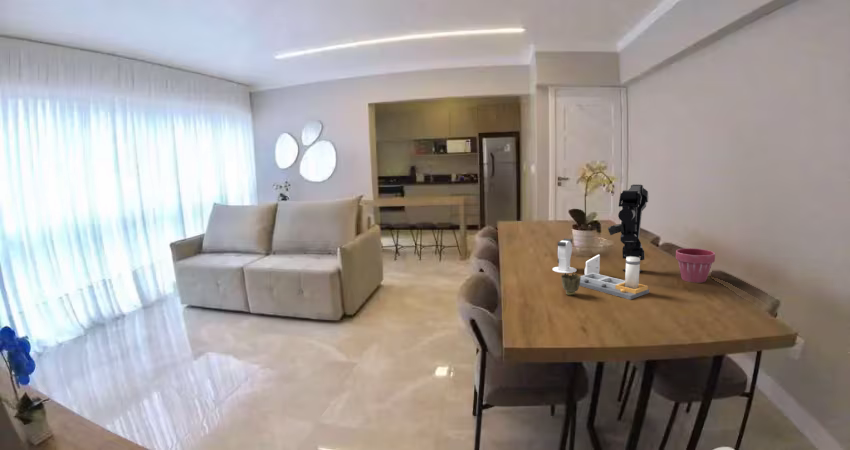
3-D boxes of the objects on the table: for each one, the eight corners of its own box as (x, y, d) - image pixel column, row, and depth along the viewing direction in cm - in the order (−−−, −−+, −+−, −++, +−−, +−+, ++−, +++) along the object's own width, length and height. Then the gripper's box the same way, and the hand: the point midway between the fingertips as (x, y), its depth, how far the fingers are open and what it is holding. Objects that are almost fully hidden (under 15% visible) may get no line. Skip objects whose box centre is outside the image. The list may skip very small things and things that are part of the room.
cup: (580, 292, 170) (580, 273, 169) (580, 298, 163) (581, 278, 162) (561, 291, 173) (561, 272, 171) (560, 296, 166) (561, 277, 165)
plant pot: (677, 283, 177) (679, 254, 175) (671, 274, 190) (673, 247, 188) (717, 285, 171) (719, 256, 169) (708, 276, 184) (710, 248, 182)
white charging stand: (557, 265, 213) (557, 237, 210) (579, 268, 206) (580, 239, 204) (549, 271, 203) (549, 241, 201) (572, 274, 196) (573, 243, 194)
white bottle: (632, 286, 170) (634, 256, 168) (641, 290, 165) (643, 259, 163) (621, 287, 169) (623, 257, 167) (630, 291, 164) (631, 260, 162)
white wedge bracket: (609, 270, 191) (599, 255, 190) (589, 281, 192) (580, 266, 192) (606, 268, 194) (597, 253, 194) (587, 279, 196) (578, 264, 195)
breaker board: (593, 278, 188) (593, 272, 188) (649, 292, 166) (649, 285, 166) (574, 284, 181) (574, 277, 181) (630, 299, 159) (630, 292, 159)
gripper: (610, 215, 193) (609, 248, 195) (608, 221, 176) (607, 256, 179) (637, 216, 188) (635, 249, 190) (637, 222, 171) (635, 258, 174)
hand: (628, 253), depth 183 cm, fingers open, 9 cm apart
